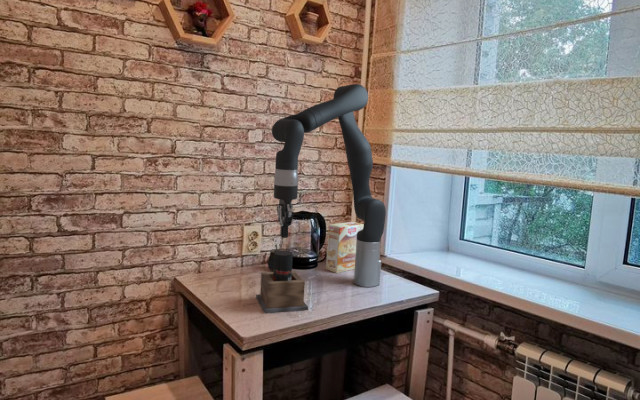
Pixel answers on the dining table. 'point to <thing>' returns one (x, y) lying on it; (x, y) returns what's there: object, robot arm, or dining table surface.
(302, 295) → the sleeve holder
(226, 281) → the dining table surface
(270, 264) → the mate gourd
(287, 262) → the deodorant
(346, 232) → the coffeecake box
